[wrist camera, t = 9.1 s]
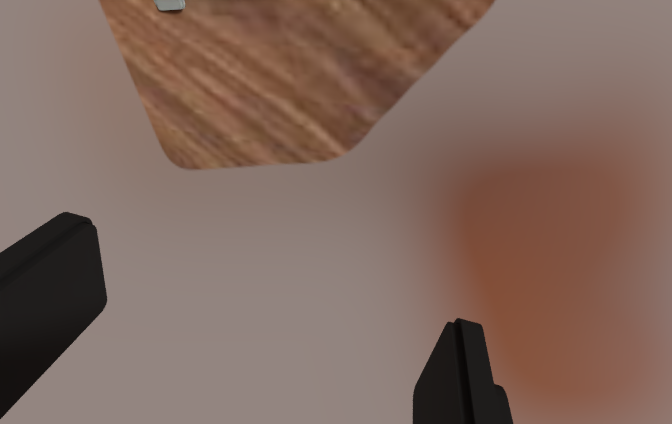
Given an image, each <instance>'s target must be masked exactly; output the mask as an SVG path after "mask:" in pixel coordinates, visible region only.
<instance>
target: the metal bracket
mask: <svg viewBox="0 0 672 424" xmlns="http://www.w3.org/2000/svg"><path fill="white" fill-rule="evenodd" d="M154 2H155V4H156V6H157V7H158V9H159V10H178V9H184V8H185V1H184V0H154Z"/></svg>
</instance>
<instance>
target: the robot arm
mask: <svg viewBox="0 0 672 424" xmlns="http://www.w3.org/2000/svg"><path fill="white" fill-rule="evenodd" d="M106 303H107V295H106V288H105V281H104V275H103V268H102V261H101V255H100V248H99V242H98V236H97V229H96V227H95V226H94V225H93V224H92V221H91V220H90V219H89V218H87V217H83V216H79V215H76V214H72V213H69V212H63V213H61V214H59V215H57V216H56V217H54V218H53V219H51V220H50V221H48V222H47V223H45V224H44V225H42V226H40V227H39V228H37V229H36V230H34V231H33V232H31V233H30V234H28V235H27V236H25V237H24V238H22V239H21V240H19V241H18V242H16V243H15V244H13V245H12V246H10V247H8V248H7V249H5V250H4V251H2V252H1V253H0V419H1V418H2V417H3V416H4V415H5V414H6V412H7V411H8V410H9V409H10V408H11V407H12V406H13V405H14V404H15V403H16V402H17V401H18V400H19V399H20V398H21V397H22V396H23V395H24V394H25V392H26V391H27V390H28V389H29V388H30V387H31V386H32V385H33V384H34V383H35V382H36V381H37V379H39V378H40V377H41V375H42V374H43V373H44V372H45V371H46V370H47V369H48V368H49V367H50V366H51V365H52V364H53V363H54V362H55V361H56V360H57V359H58V357H60V355H61V354H62V353H63V352H64V351H65V350H66V349H67V348H68V347H69V346H70V345H71V344H72V343H73V342H74V341H75V340H76V339H77V337H78V336H79V335H80V334H81V333H82V332H83V331H84V330H85V329H86V328H87V327H88V326H89V325H90V324H91V323H92V322H93V320H95V318H96V317H97V316H98V315H99V314H100V313H101V312H102V311H103V309H104V307H105V305H106ZM413 424H513V420H512V416H511V412H510V407H509V403H508V398H507V395H506V393H505V391H504V389H503V387H501V386H499V385H496V384H494V382H493V377H492V372H491V367H490V362H489V357H488V352H487V347H486V342H485V337H484V332H483V328H482V325H481V324H478V323H475V322H471V321H467V320H463V319H460V318H457V319H456V320H455V322H454V323H452V322H447V324H446V326H445V327H444V329H443V331H442V333H441V335H440V337H439V340H438V342H437V343H436V346H435V348H434V350H433V351H432V354H431V355H430V357H429V360H428V362H427V363H426V366H425V367H424V369H423V371H422V373H421V375H420V378H419V380H418V381H417V384H416V386H415V389H414V394H413Z"/></svg>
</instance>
